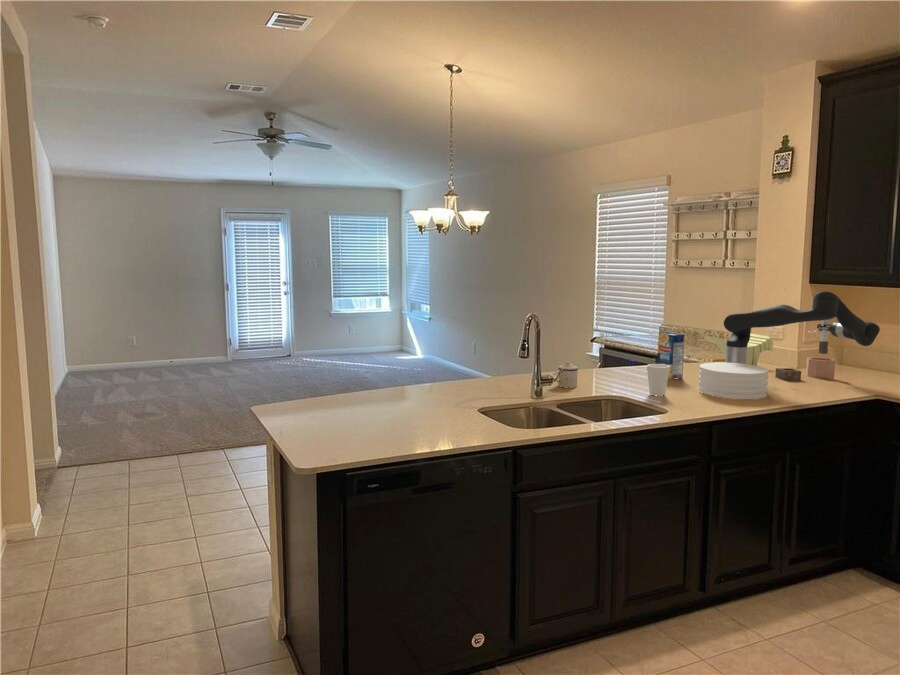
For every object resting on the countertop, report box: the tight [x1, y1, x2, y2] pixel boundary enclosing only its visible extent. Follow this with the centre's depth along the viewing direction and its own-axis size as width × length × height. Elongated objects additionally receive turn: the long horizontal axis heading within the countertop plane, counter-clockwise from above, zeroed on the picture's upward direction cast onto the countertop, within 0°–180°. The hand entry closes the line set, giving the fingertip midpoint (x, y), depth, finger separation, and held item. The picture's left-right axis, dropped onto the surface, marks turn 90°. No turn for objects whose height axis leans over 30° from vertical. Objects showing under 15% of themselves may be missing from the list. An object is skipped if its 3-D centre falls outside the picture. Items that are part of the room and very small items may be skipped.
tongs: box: [818, 319, 830, 355], centre depth 311 cm, size 3×2×24 cm
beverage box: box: [656, 331, 686, 380], centre depth 317 cm, size 7×11×22 cm, turn 22°
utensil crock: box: [805, 356, 836, 381], centre depth 314 cm, size 11×11×10 cm
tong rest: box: [774, 367, 802, 382], centre depth 307 cm, size 8×8×6 cm
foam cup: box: [646, 363, 670, 397], centre depth 277 cm, size 10×9×13 cm
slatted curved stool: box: [705, 333, 774, 366], centre depth 340 cm, size 30×16×18 cm, turn 109°
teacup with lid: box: [553, 361, 579, 388], centre depth 294 cm, size 12×9×12 cm
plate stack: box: [697, 361, 770, 400], centre depth 282 cm, size 28×28×12 cm
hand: (821, 326), depth 314 cm, fingers closed on tongs, 2 cm apart
